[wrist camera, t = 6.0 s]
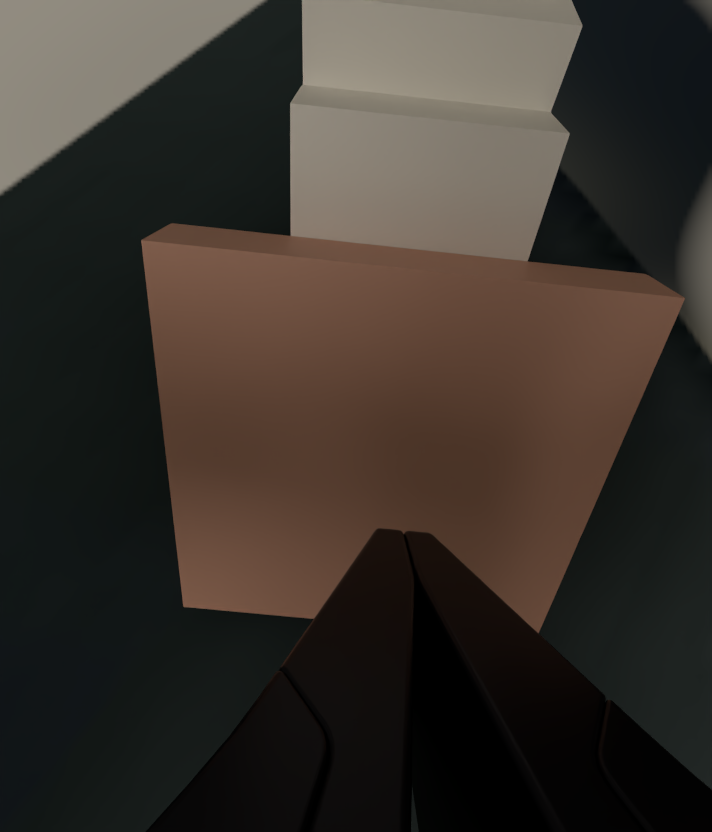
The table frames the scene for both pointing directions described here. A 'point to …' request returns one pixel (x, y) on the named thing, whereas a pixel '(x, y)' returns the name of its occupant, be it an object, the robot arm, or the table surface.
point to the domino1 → (386, 408)
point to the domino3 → (442, 48)
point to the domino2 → (420, 172)
